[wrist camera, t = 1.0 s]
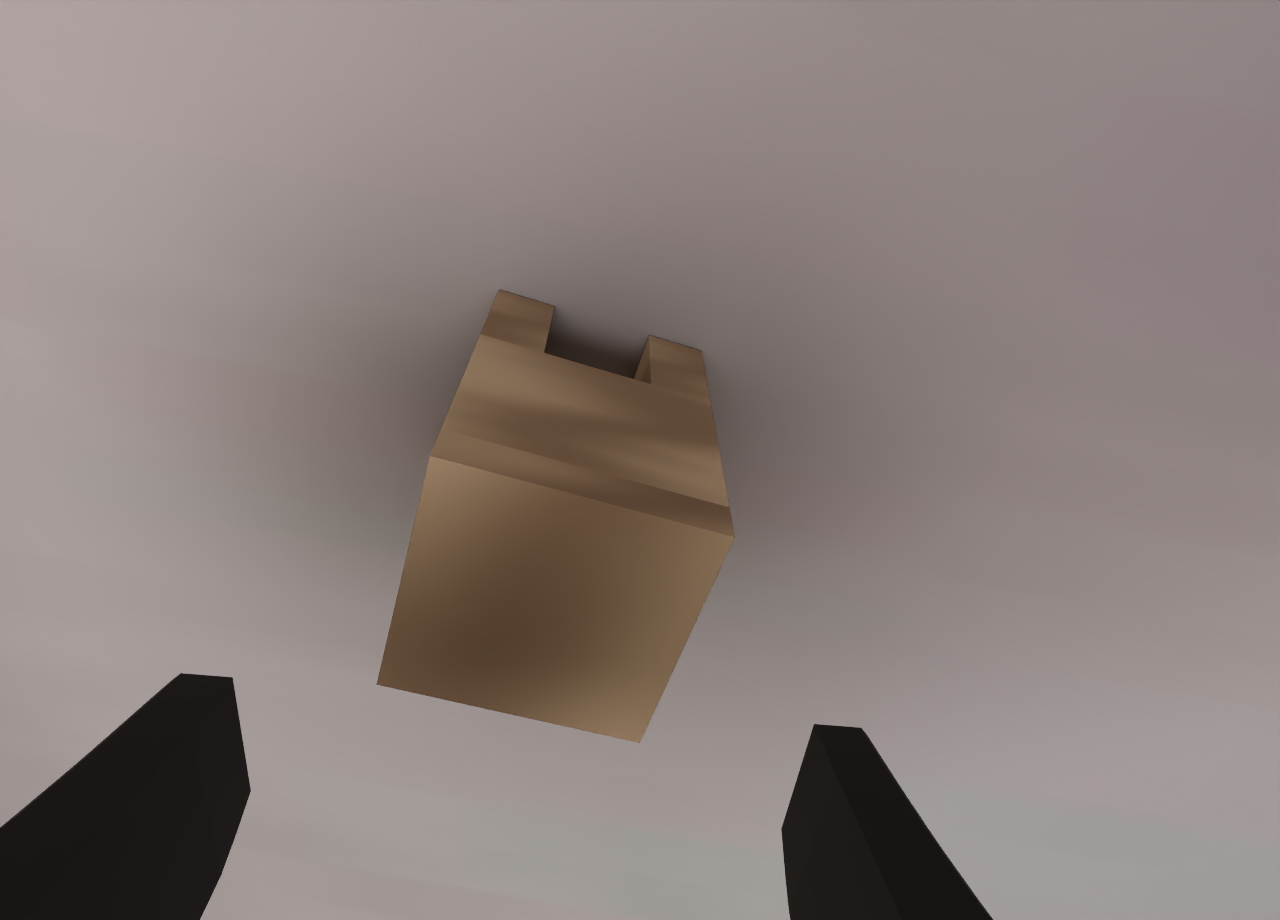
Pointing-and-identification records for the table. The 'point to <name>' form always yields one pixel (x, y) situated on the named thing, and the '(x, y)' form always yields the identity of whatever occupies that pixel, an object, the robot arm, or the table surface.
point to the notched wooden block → (561, 532)
